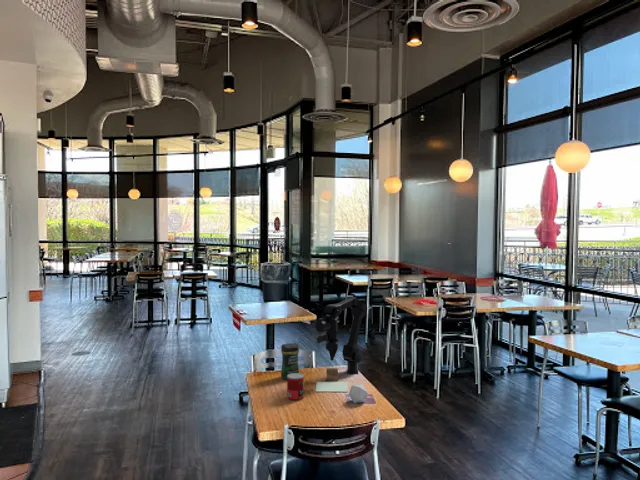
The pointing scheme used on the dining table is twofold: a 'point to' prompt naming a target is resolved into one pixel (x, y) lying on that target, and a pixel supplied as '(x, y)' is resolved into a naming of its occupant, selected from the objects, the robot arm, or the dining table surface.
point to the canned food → (295, 386)
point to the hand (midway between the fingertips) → (332, 358)
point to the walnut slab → (332, 374)
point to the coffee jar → (289, 359)
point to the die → (358, 393)
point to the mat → (331, 387)
